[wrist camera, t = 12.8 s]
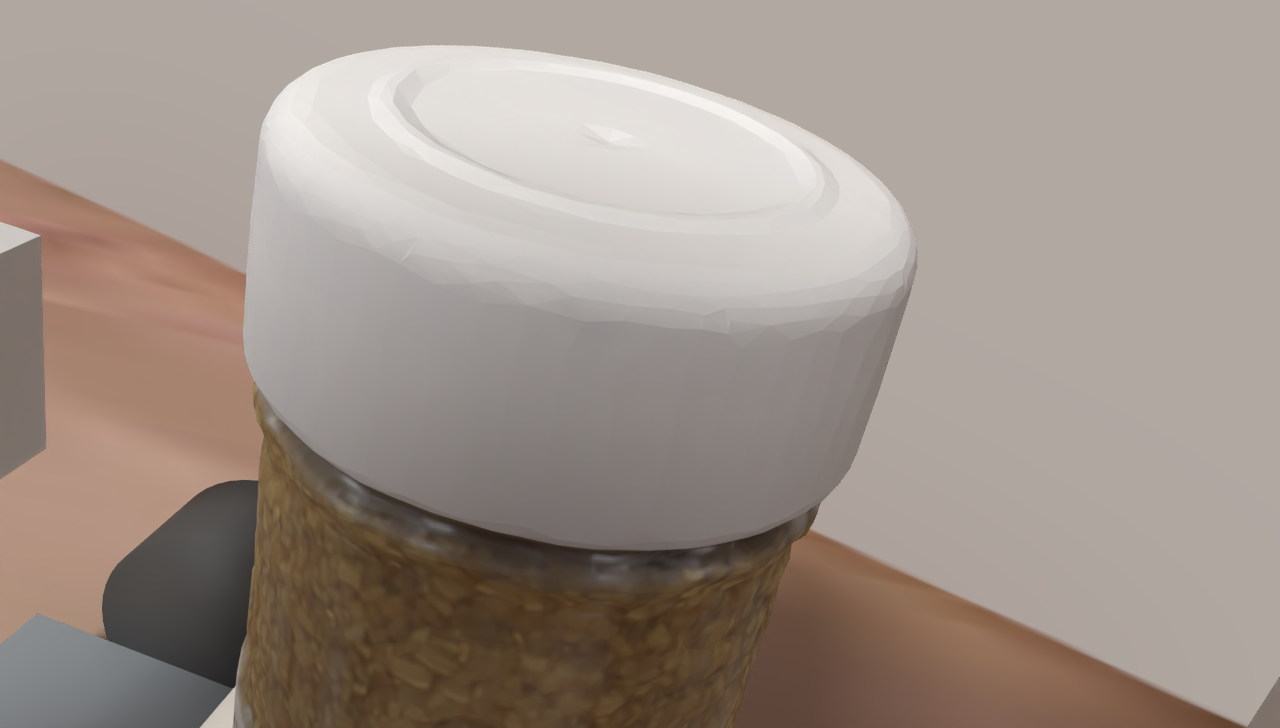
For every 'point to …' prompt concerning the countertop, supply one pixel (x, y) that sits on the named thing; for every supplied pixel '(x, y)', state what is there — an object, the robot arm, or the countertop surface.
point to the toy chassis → (148, 631)
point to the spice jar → (543, 387)
